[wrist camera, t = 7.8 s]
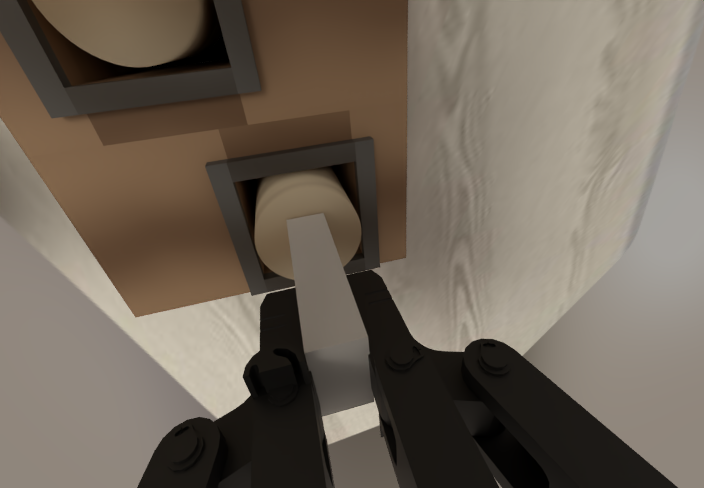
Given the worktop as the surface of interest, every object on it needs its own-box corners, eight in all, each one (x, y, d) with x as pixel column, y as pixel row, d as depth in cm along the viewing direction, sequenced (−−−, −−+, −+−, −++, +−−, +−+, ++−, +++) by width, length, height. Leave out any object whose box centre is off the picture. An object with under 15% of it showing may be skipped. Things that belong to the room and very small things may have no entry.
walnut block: (17, -91, 13) (-261, -239, 6) (345, -106, 15) (416, -230, 8) (173, 235, 22) (132, 324, 15) (366, 198, 24) (409, 262, 17)
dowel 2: (248, 143, 18) (240, 200, 12) (324, 131, 19) (357, 179, 12) (266, 211, 21) (269, 290, 14) (333, 199, 22) (364, 268, 15)
